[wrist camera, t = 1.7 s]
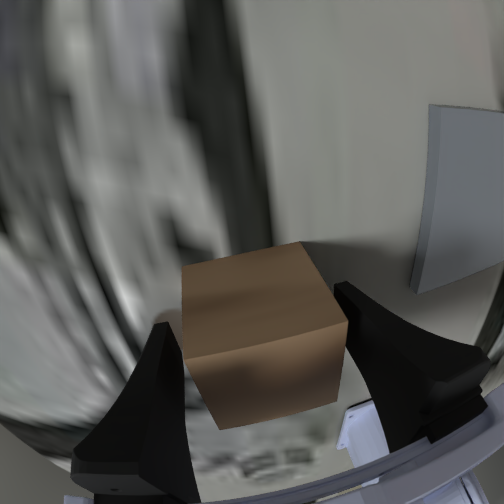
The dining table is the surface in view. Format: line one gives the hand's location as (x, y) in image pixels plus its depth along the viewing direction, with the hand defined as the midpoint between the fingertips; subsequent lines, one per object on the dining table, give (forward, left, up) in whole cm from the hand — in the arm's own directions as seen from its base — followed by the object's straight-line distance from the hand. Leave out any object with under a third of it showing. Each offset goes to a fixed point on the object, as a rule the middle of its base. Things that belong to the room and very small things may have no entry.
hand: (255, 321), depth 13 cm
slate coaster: (+3, -14, -1) cm, 14 cm away
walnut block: (0, 0, -2) cm, 2 cm away
